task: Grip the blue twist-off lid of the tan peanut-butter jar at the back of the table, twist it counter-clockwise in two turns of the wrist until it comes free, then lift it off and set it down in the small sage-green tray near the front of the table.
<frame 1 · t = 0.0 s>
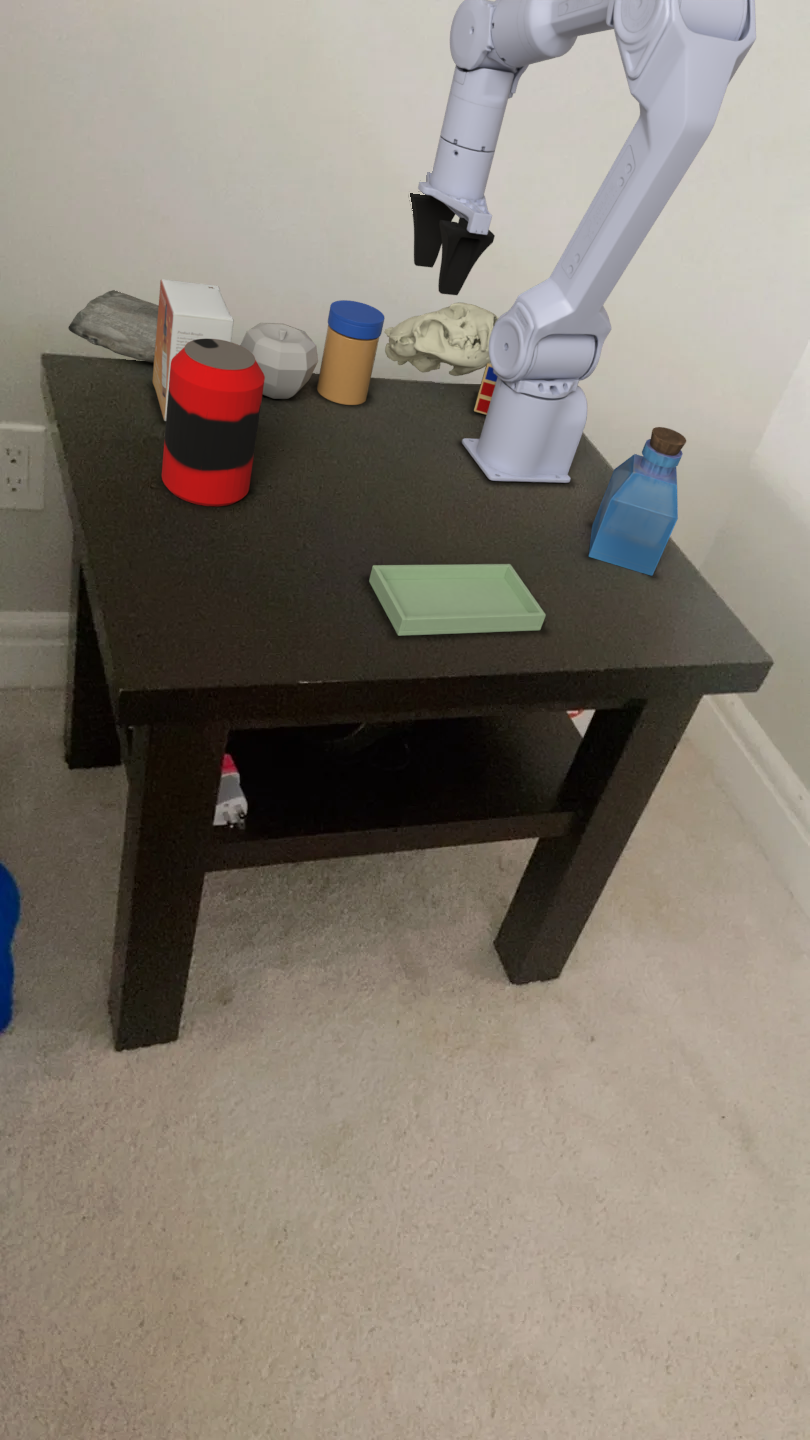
hand: (435, 279, 114), 11 cm above the table, tool pointing down, fingers open, 7 cm apart
small box: (186, 406, 103), on the table
animal skull: (442, 378, 116), point 2 cm above the table, touching rubik's cube
jar: (341, 393, 112), on the table
perfume bottle: (620, 552, 100), on the table
soda can: (205, 487, 92), on the table
stone: (224, 353, 108), point 2 cm above the table
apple: (273, 393, 109), on the table
tray: (454, 605, 86), on the table
lid: (356, 315, 107), point 8 cm above the table, screwed on, not yet turned
rubik's cube: (499, 410, 118), on the table, touching animal skull
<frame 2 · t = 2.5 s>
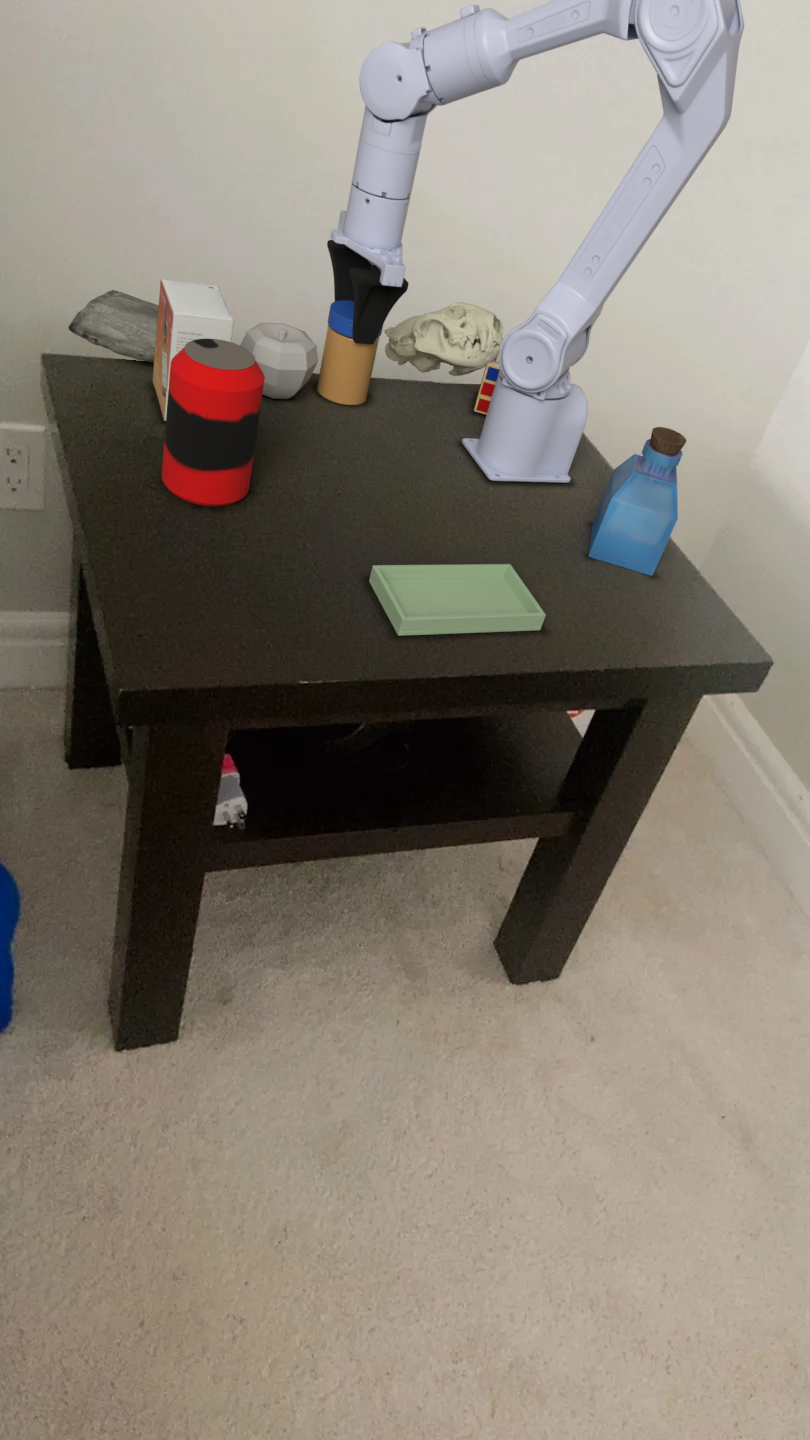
hand: (354, 329, 108), 7 cm above the table, tool pointing down, fingers closed on lid, 5 cm apart
lid: (356, 315, 107), point 8 cm above the table, screwed on, not yet turned, touching gripper
everything else where it was.
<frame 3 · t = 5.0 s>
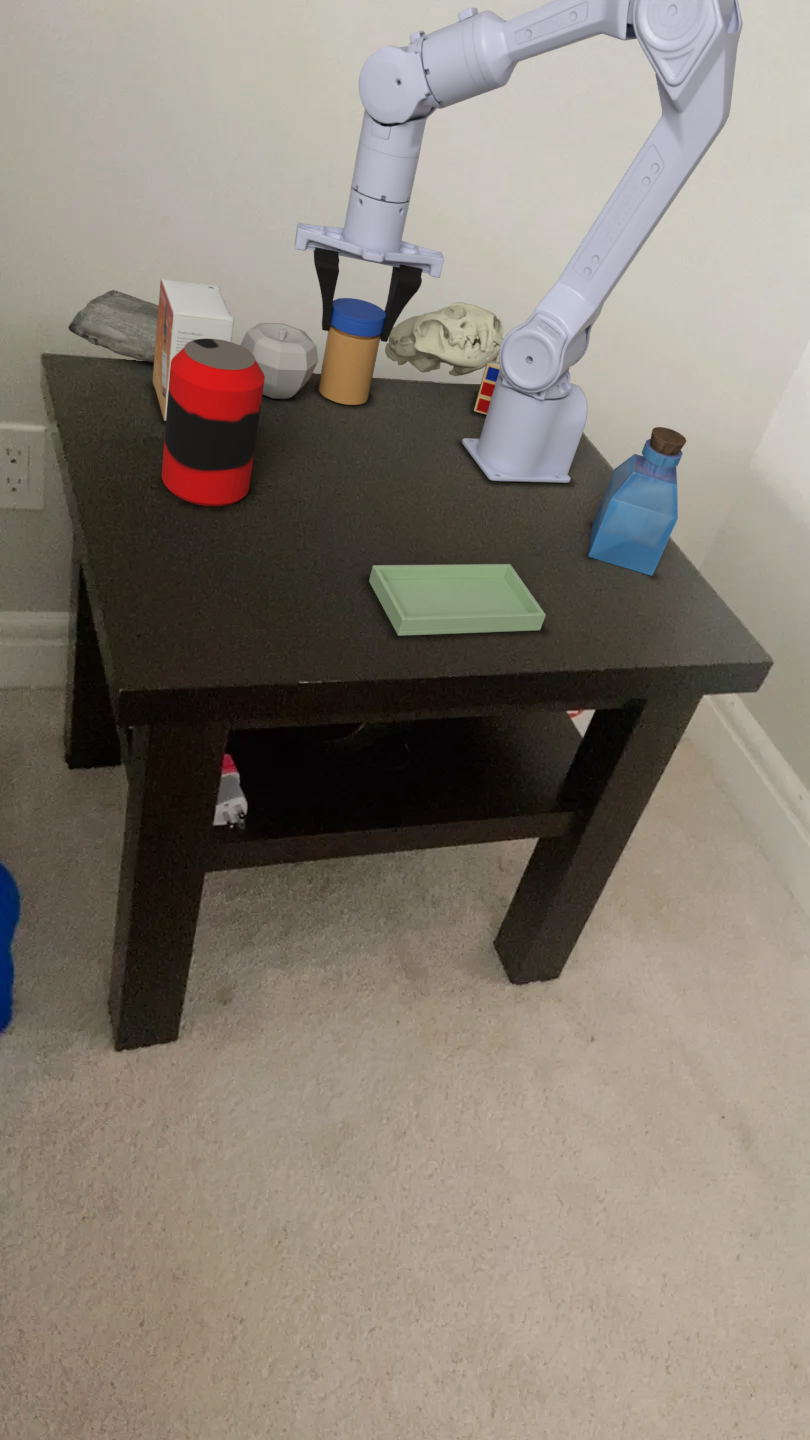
hand: (354, 332, 108), 7 cm above the table, tool pointing down, fingers closed on lid, 5 cm apart
jar: (343, 393, 112), on the table, touching gripper
lid: (358, 312, 107), point 9 cm above the table, turned 74° so far, risen 0.2 cm, still on its thread, touching gripper
everything else where it was.
when the fingers open (4 cm above the table, at t = 6.6 s): lid stays where it is, point 9 cm above the table.
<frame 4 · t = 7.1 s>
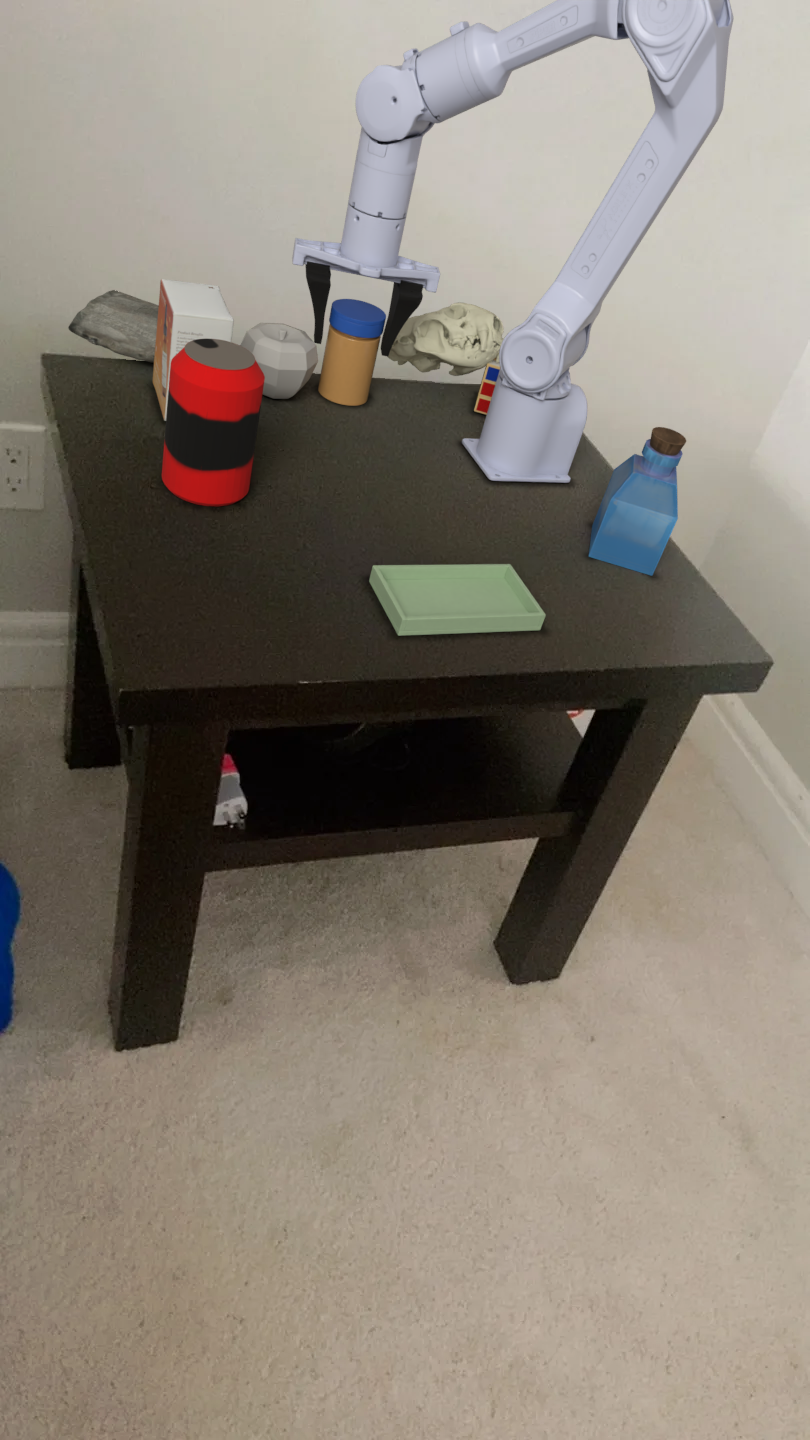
hand: (351, 346, 109), 5 cm above the table, tool pointing down, fingers open, 6 cm apart
jar: (342, 394, 112), on the table
lid: (358, 313, 107), point 9 cm above the table, turned 74° so far, risen 0.2 cm, still on its thread
everything else where it was.
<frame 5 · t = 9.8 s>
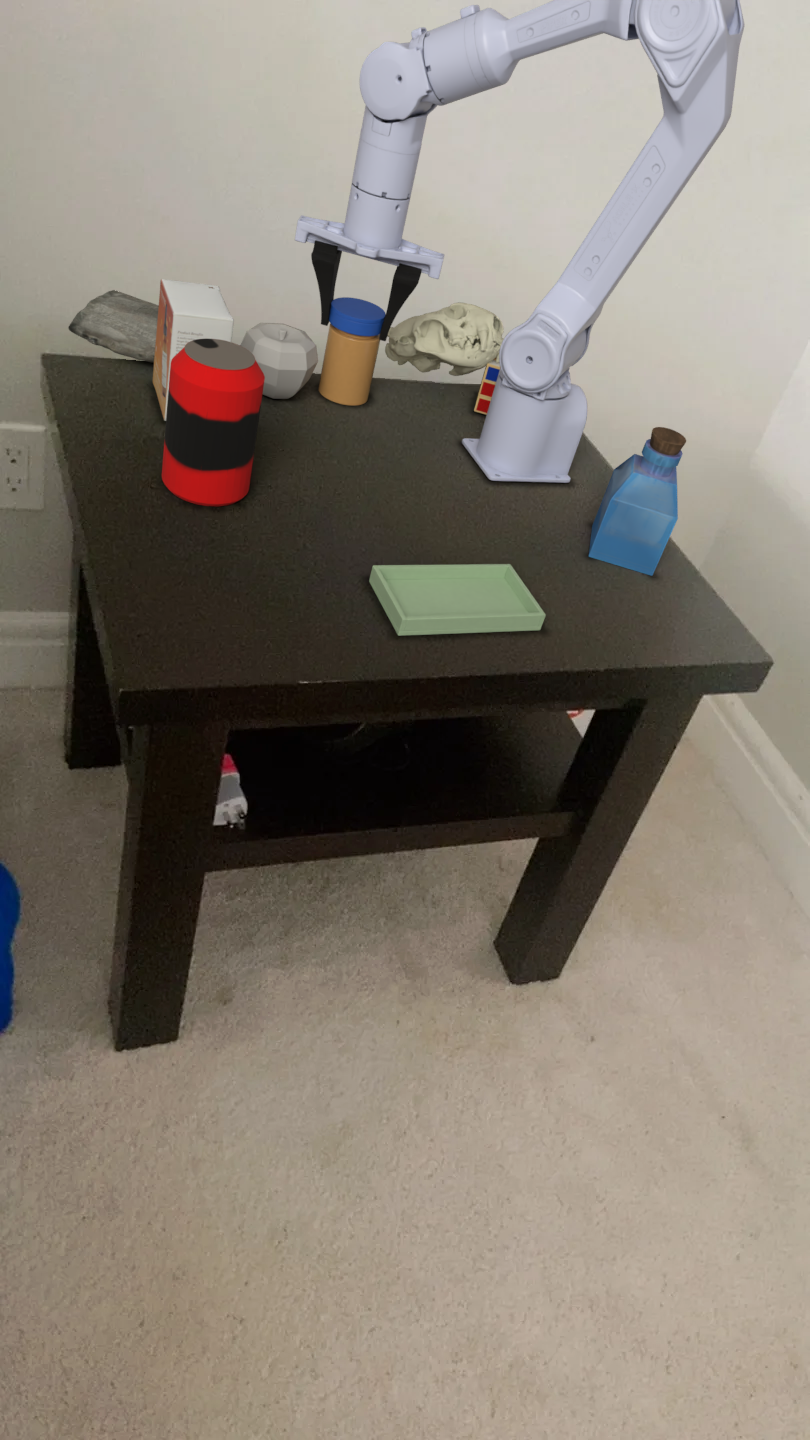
hand: (354, 329, 108), 7 cm above the table, tool pointing down, fingers closed on lid, 5 cm apart
lid: (357, 312, 107), point 9 cm above the table, off its thread, touching gripper
everything else where it was.
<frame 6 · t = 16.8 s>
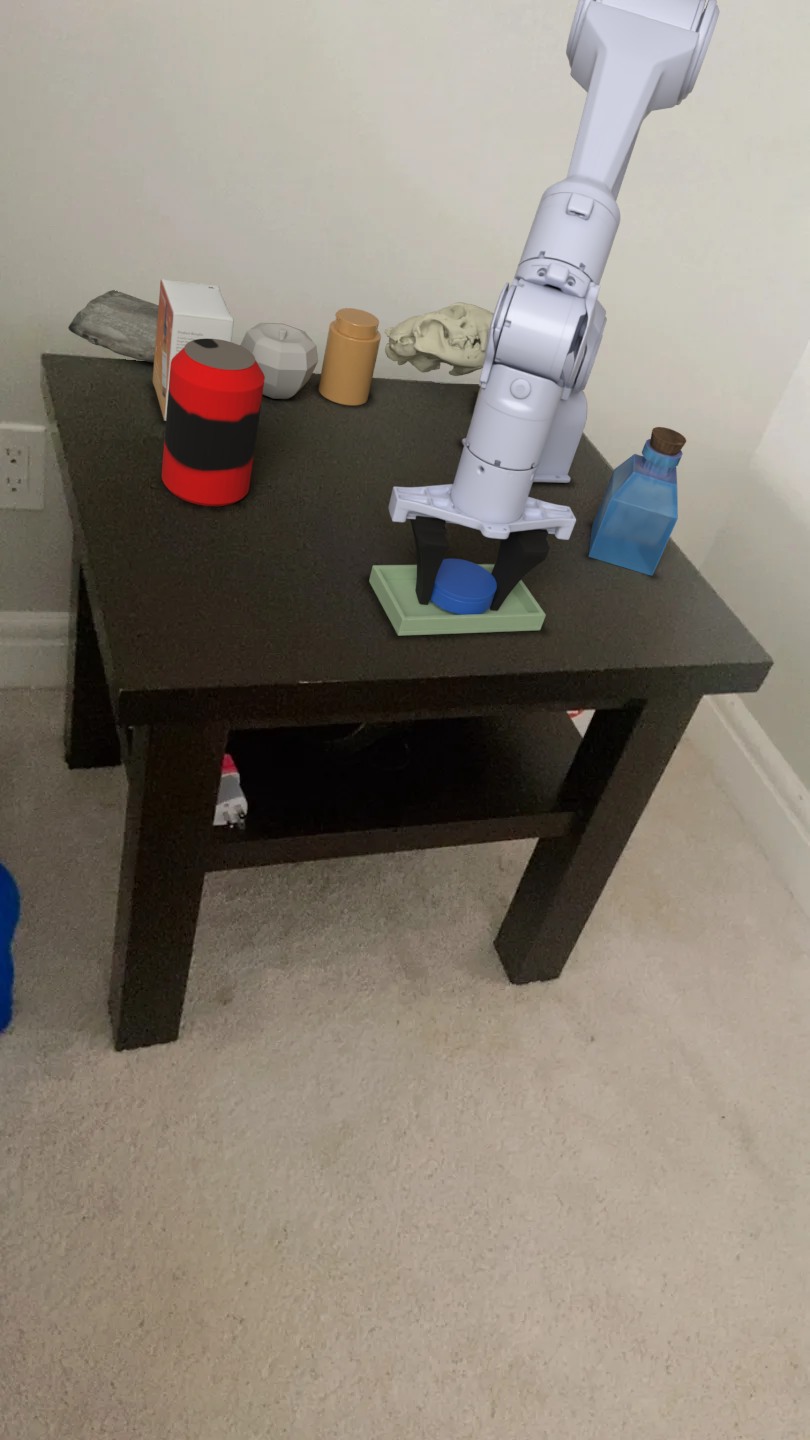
hand: (456, 600, 86), 1 cm above the table, tool pointing down, fingers closed on lid, 5 cm apart
lid: (462, 582, 85), point 2 cm above the table, off its thread, touching gripper
everything else where it was.
when the fingers open (2 cm above the table, at t = 29.4 s): lid drops 2 cm, resting on tray.
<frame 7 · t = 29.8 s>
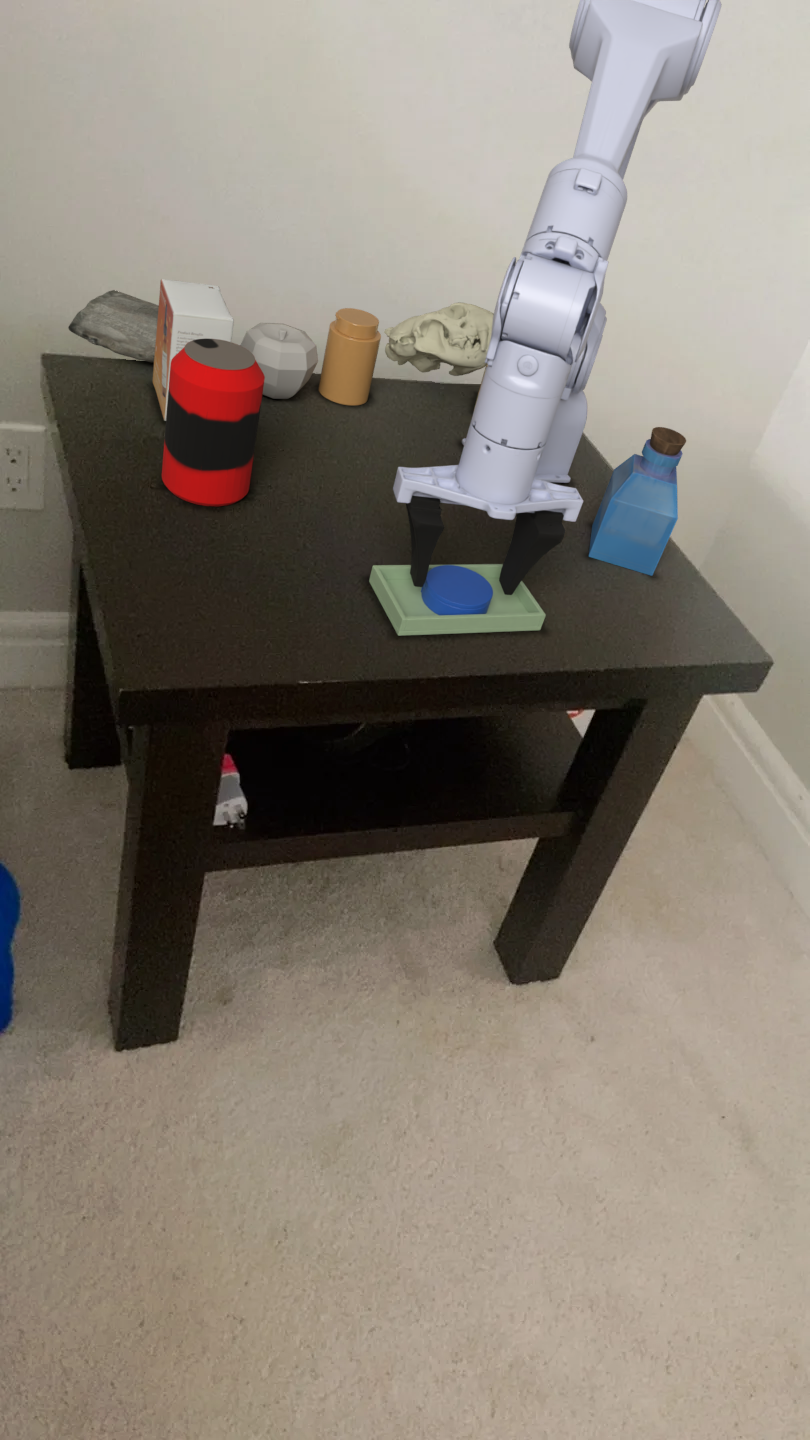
hand: (461, 583, 85), 2 cm above the table, tool pointing down, fingers open, 7 cm apart
lid: (458, 588, 85), point 2 cm above the table, off its thread, touching tray
everything else where it was.
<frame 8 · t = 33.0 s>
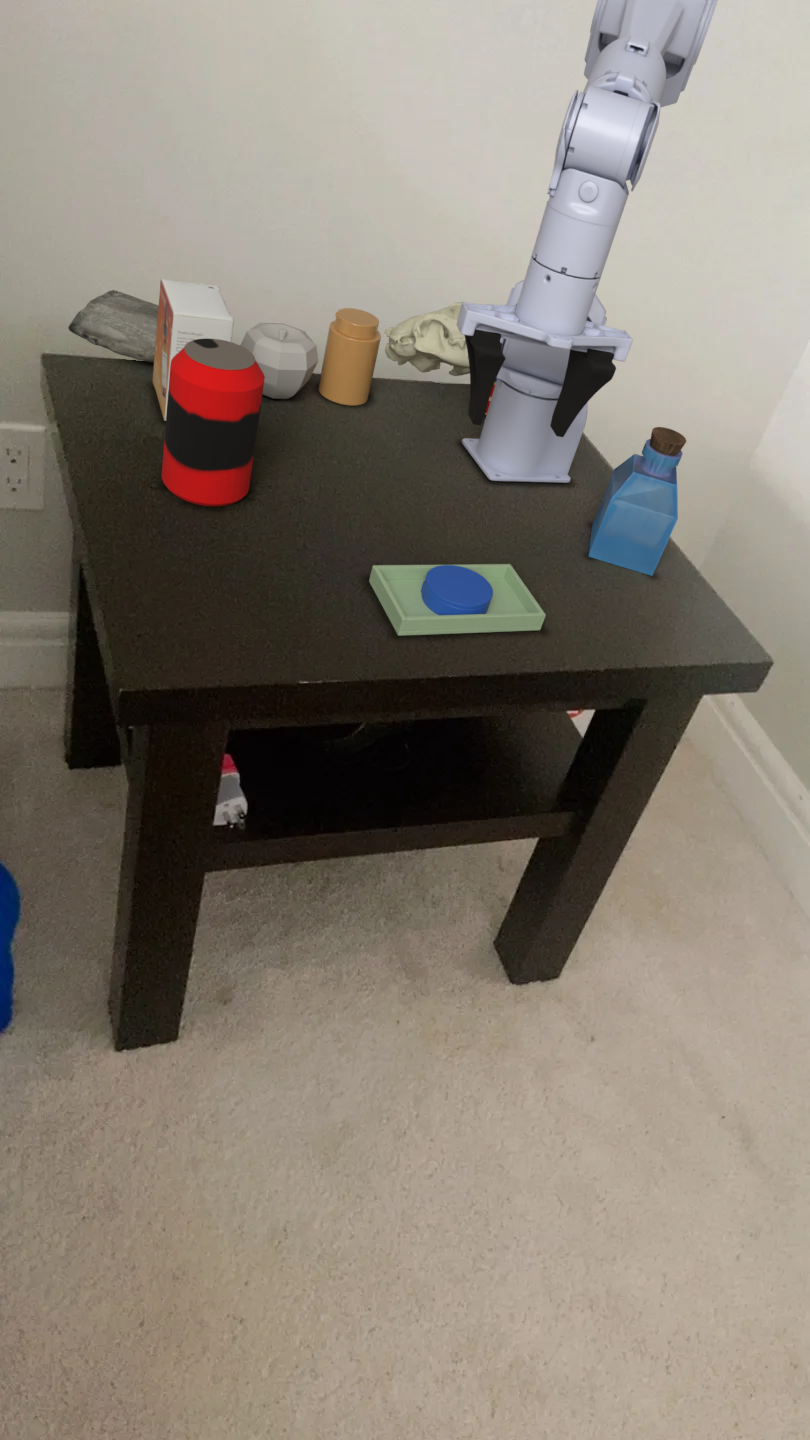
hand: (516, 425, 91), 10 cm above the table, tool pointing down, fingers open, 7 cm apart
nothing on the table moved.
at the end: lid inside the target area in the tray (0.1 cm from its centre), point 1.7 cm above the tray's base; lid point 1.7 cm above the table; the gripper is holding nothing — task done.
